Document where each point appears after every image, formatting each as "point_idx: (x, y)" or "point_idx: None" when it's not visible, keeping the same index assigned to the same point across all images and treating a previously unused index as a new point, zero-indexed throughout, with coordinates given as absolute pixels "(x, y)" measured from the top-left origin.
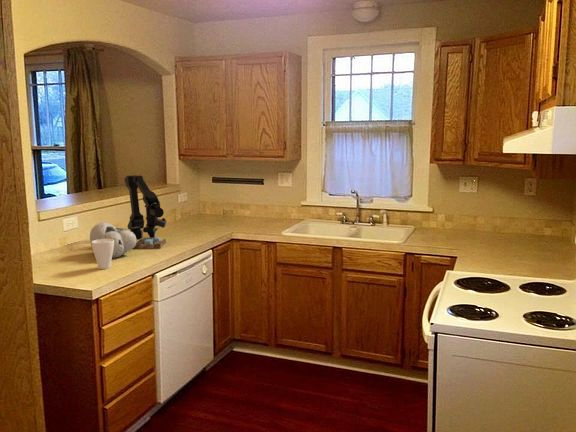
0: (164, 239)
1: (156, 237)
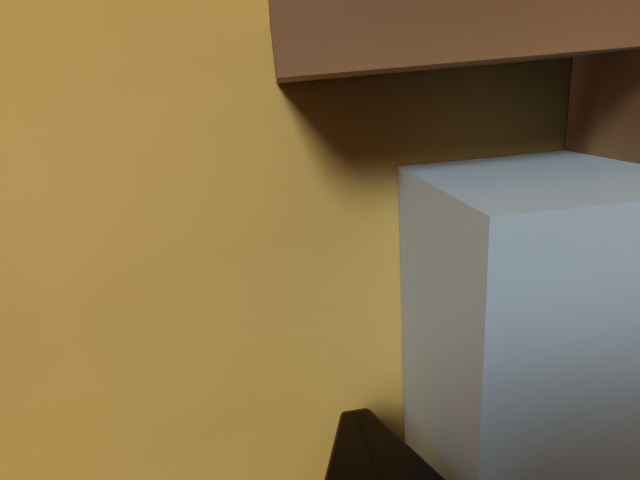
0: (402, 17)
1: (513, 368)
